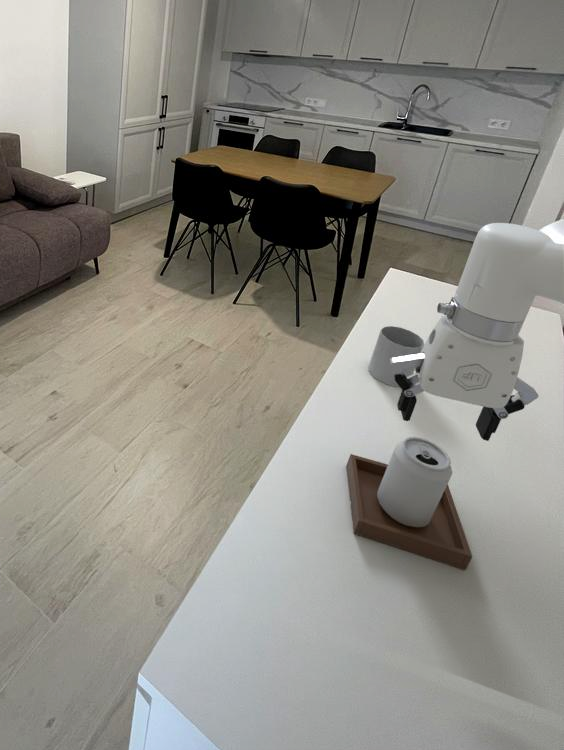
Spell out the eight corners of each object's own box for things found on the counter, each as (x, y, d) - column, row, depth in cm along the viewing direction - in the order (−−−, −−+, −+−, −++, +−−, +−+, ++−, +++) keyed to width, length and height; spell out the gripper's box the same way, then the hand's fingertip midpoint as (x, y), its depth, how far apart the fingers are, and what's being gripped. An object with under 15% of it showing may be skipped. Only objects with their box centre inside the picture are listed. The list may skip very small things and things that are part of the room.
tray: (441, 493, 81) (447, 481, 80) (465, 570, 69) (472, 557, 68) (346, 465, 85) (350, 453, 84) (353, 533, 73) (358, 520, 72)
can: (379, 522, 75) (404, 463, 70) (371, 483, 81) (393, 426, 76) (435, 538, 73) (464, 478, 68) (422, 496, 79) (447, 440, 75)
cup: (378, 358, 116) (390, 322, 112) (415, 377, 110) (430, 339, 106) (361, 371, 111) (374, 334, 107) (400, 392, 105) (414, 352, 101)
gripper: (414, 319, 62) (378, 424, 69) (580, 351, 57) (524, 461, 64) (403, 293, 69) (371, 392, 76) (551, 319, 64) (503, 423, 71)
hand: (442, 423), depth 70 cm, fingers open, 9 cm apart
